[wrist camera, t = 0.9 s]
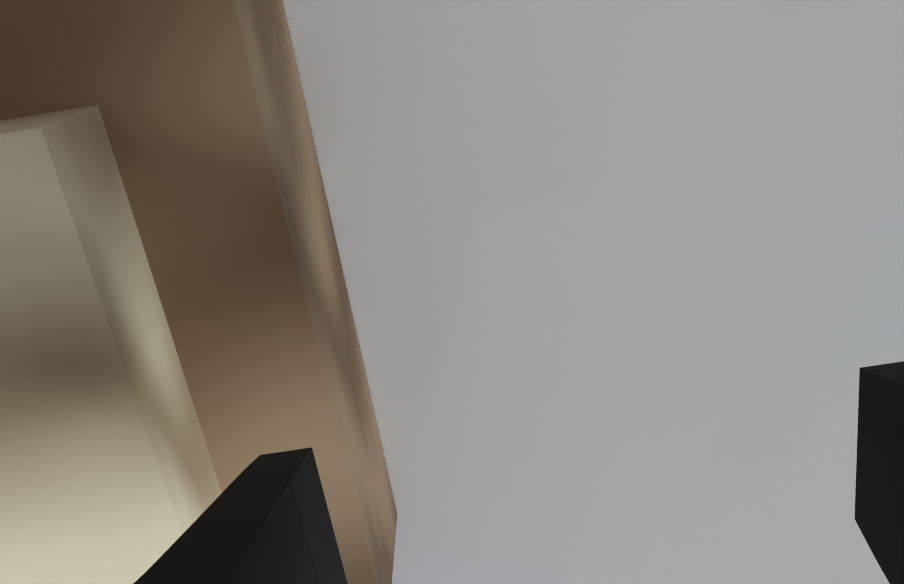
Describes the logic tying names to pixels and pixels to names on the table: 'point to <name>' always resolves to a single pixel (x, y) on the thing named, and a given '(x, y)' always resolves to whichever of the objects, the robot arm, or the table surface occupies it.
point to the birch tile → (85, 370)
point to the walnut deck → (225, 229)
